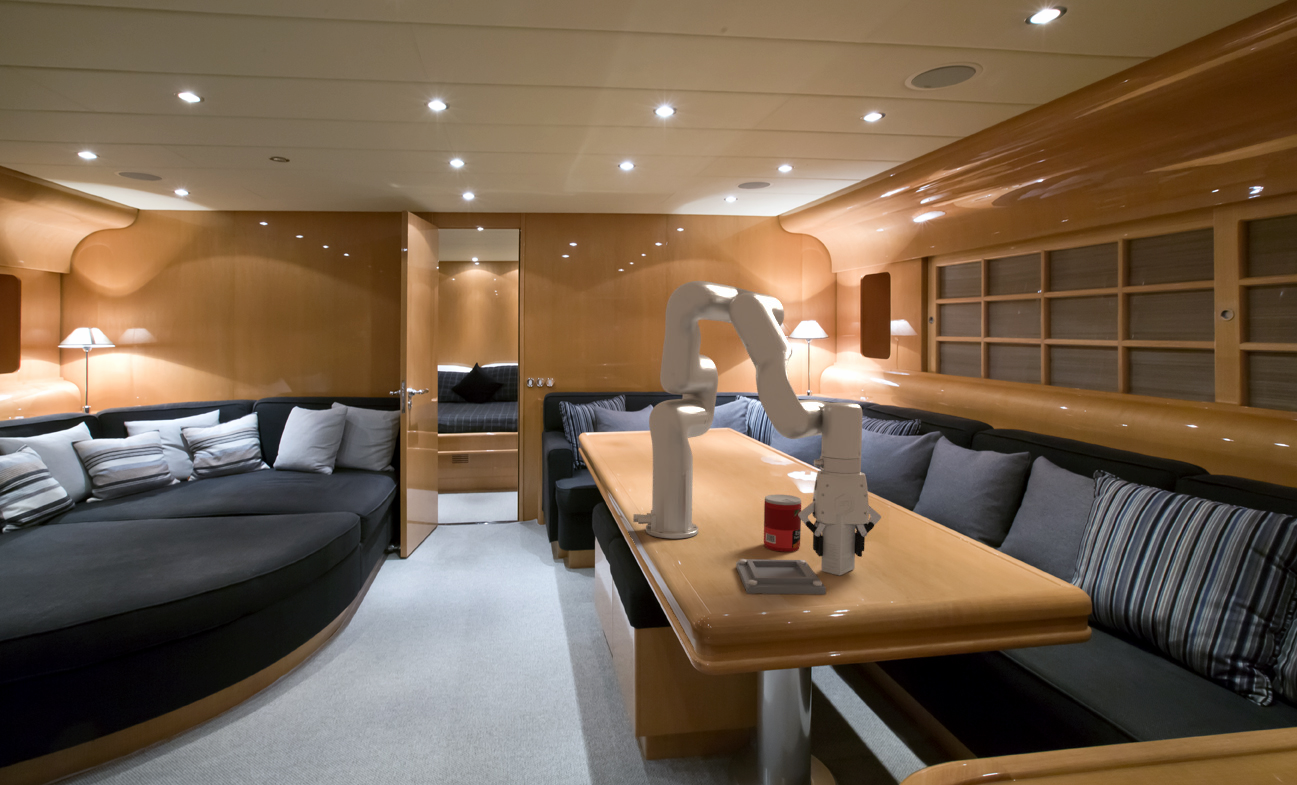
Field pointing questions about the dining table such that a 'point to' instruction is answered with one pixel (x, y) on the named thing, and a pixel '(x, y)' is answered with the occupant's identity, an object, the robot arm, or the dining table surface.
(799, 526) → the canned food
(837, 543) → the skincare box
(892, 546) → the dining table surface
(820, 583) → the plate
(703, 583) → the dining table surface
